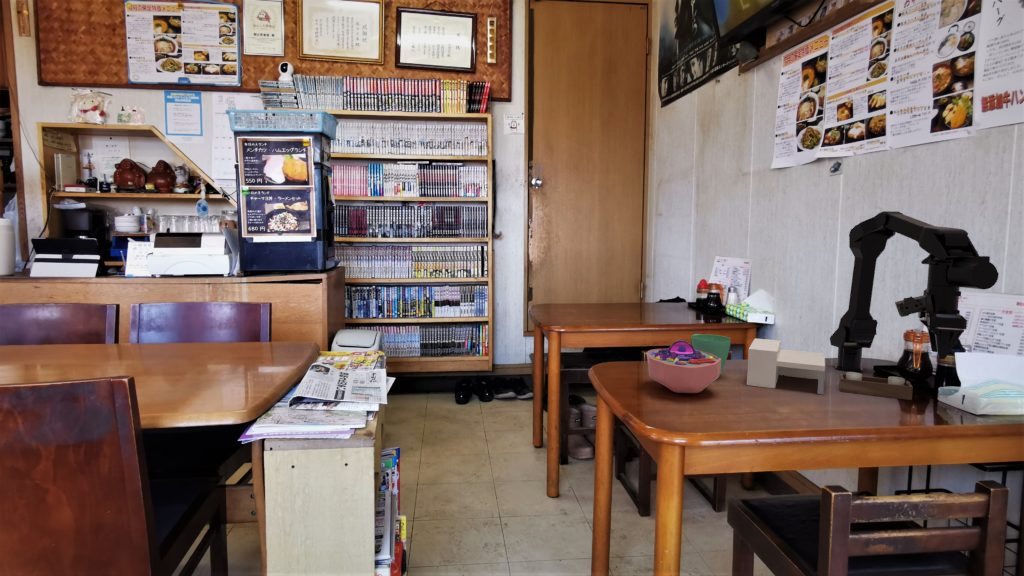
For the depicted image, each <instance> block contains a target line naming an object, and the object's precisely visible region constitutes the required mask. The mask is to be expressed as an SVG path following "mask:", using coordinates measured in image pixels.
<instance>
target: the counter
mask: <svg viewBox="0 0 1024 576" xmlns="http://www.w3.org/2000/svg"><path fill="white" fill-rule="evenodd" d="M781 343H782V341H781V340H776V339H766V338H765V339H764V338H757V337H756V338H754V339H753V340H752V342H751V344H750V346H749V347H748V354H747V355H748V356H747V375H746V386H753V387H754V386H755V387H760V388H770V389H776V385H777V382H778V379H779V376H783V375H784V377H793V378H802V379H808V380H809V379H810V380H818V381H817V394H818V395H824V392H825V391H824V390H825V376H826V374H825V373H826V357H825V353H824V352H823V353H822V352H813V351H803V350H802V351H801V350H791V349H781V345H782V344H781Z"/></svg>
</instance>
